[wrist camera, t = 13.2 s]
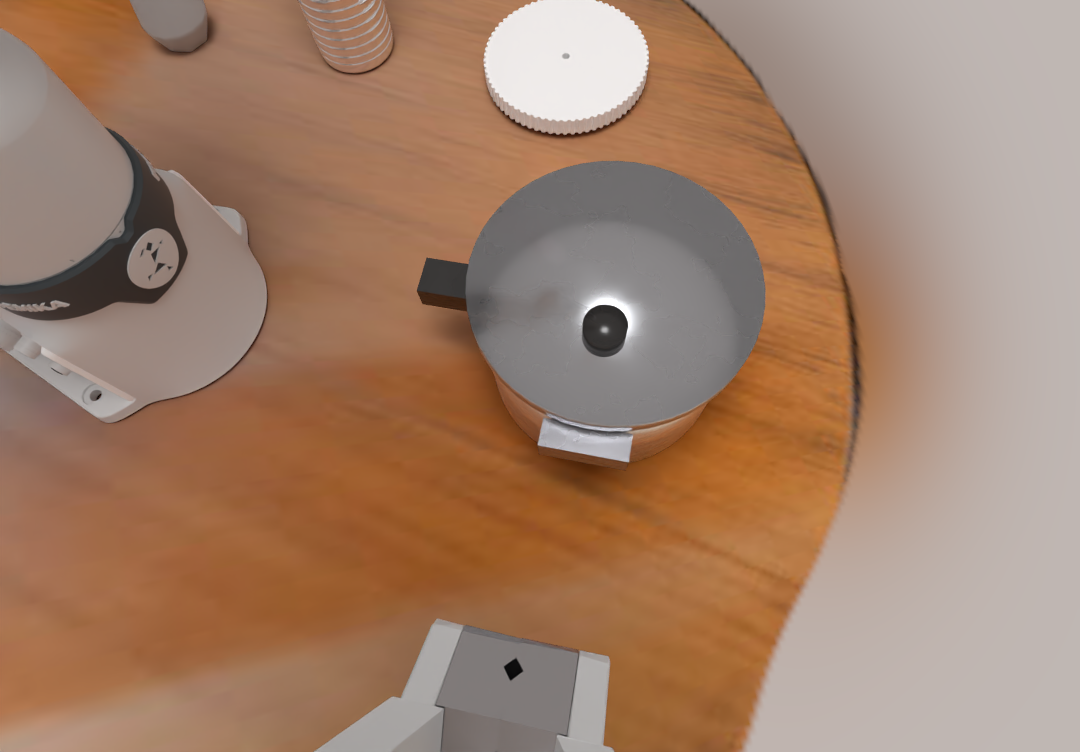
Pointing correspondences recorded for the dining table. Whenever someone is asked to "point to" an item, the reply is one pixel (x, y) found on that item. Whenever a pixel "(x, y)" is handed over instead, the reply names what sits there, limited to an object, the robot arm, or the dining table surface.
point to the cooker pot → (554, 437)
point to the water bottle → (350, 32)
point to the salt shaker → (174, 22)
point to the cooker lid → (615, 295)
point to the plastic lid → (566, 65)
